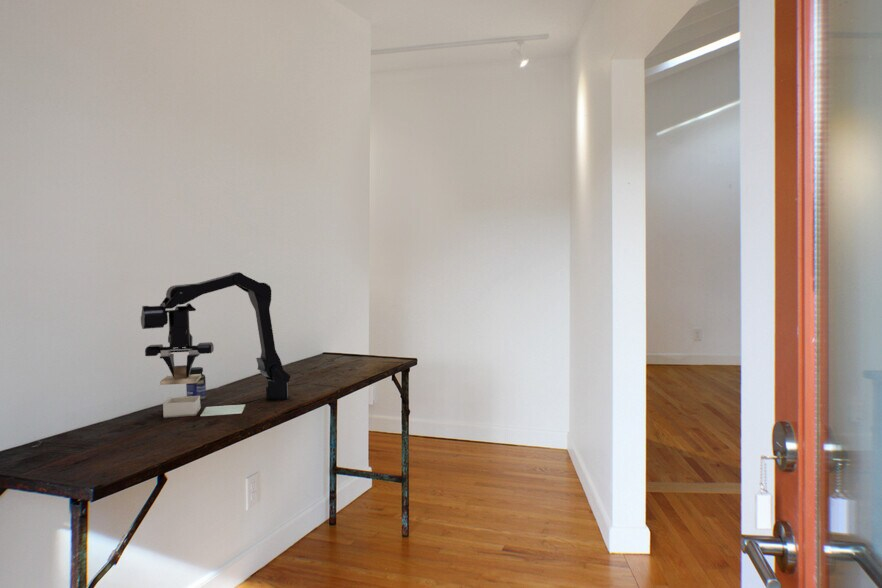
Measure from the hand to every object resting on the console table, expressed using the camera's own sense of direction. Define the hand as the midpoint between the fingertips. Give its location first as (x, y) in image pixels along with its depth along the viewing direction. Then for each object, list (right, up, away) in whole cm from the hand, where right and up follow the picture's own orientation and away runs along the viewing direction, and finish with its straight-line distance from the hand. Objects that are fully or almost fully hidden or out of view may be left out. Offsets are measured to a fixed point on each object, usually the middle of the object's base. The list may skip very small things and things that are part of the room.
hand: (181, 377), depth 188 cm
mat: (+12, -11, +3) cm, 17 cm away
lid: (0, -1, 0) cm, 1 cm away
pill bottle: (-3, -11, +19) cm, 22 cm away
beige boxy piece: (0, -12, +1) cm, 12 cm away
